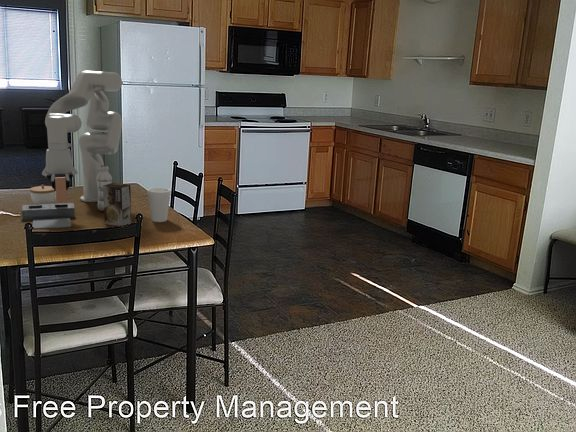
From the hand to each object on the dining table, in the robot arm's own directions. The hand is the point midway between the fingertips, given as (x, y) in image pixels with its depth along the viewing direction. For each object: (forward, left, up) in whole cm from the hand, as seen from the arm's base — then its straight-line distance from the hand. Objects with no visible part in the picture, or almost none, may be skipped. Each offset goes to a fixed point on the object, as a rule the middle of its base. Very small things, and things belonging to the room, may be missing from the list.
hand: (60, 189), depth 239 cm
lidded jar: (+7, -19, -11) cm, 23 cm away
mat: (+4, +13, -11) cm, 18 cm away
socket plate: (+5, 0, -11) cm, 12 cm away
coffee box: (-21, +18, -11) cm, 30 cm away
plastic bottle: (-18, -4, -11) cm, 21 cm away
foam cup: (-38, +16, -11) cm, 43 cm away
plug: (0, +1, -5) cm, 5 cm away
